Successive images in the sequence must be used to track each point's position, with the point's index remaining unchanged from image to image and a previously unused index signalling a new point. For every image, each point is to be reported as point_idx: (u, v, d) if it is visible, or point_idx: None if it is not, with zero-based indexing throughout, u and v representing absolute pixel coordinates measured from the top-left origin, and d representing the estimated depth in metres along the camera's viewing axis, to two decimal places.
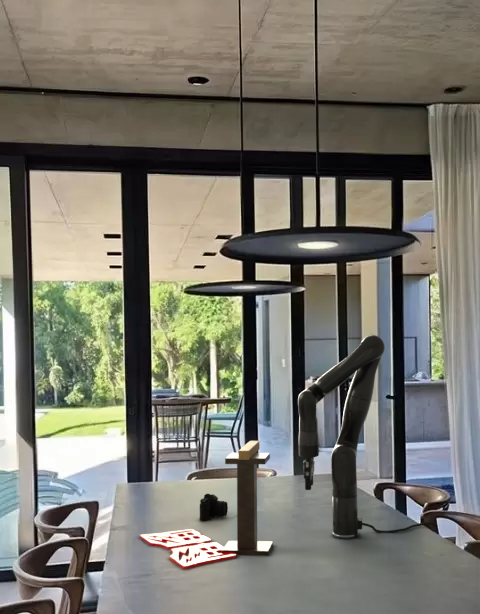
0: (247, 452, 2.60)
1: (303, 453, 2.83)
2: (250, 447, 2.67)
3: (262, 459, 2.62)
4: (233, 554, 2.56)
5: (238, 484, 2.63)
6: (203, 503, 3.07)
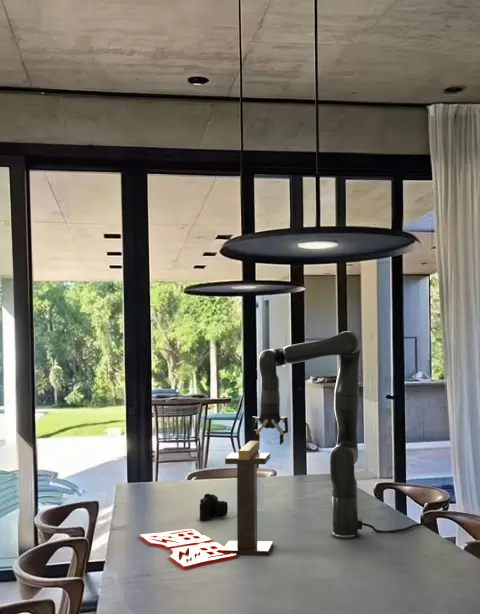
0: (247, 452, 2.60)
1: None
2: (250, 447, 2.67)
3: (262, 459, 2.62)
4: (233, 554, 2.56)
5: (238, 484, 2.63)
6: (203, 503, 3.07)
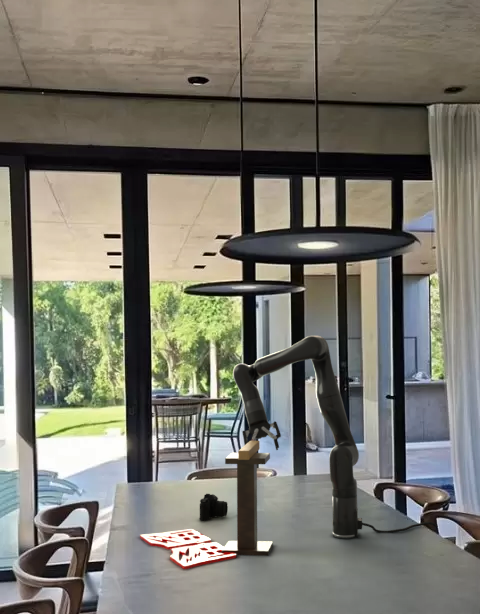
0: (247, 452, 2.60)
1: None
2: (250, 447, 2.67)
3: (262, 459, 2.62)
4: (233, 554, 2.56)
5: (238, 484, 2.63)
6: (203, 503, 3.07)
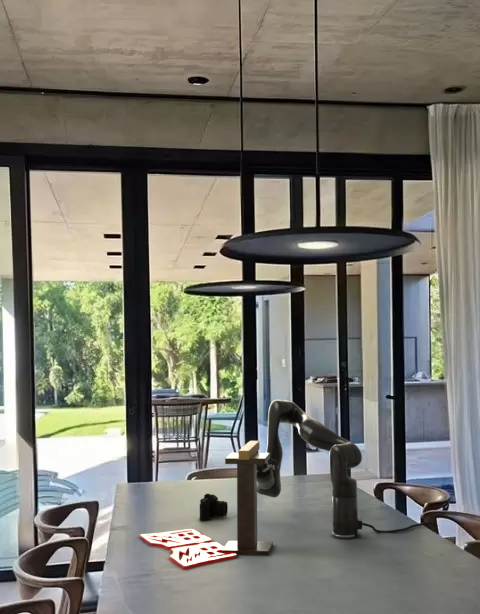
0: (247, 452, 2.60)
1: None
2: (250, 447, 2.67)
3: (262, 459, 2.62)
4: (233, 554, 2.56)
5: (238, 484, 2.63)
6: (203, 503, 3.07)
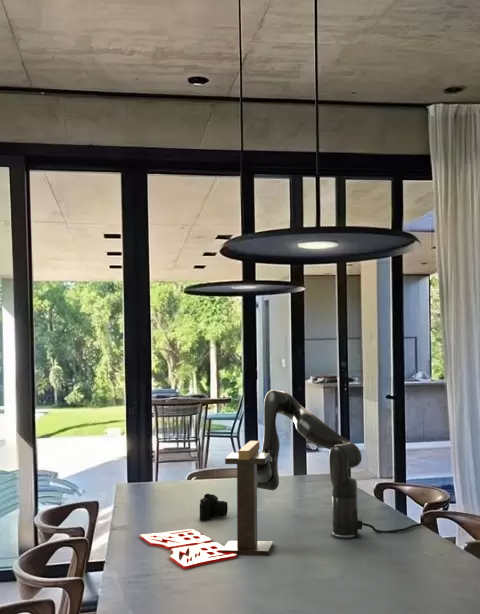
0: (247, 452, 2.60)
1: None
2: (250, 447, 2.67)
3: (262, 459, 2.62)
4: (233, 554, 2.56)
5: (238, 484, 2.63)
6: (203, 503, 3.07)
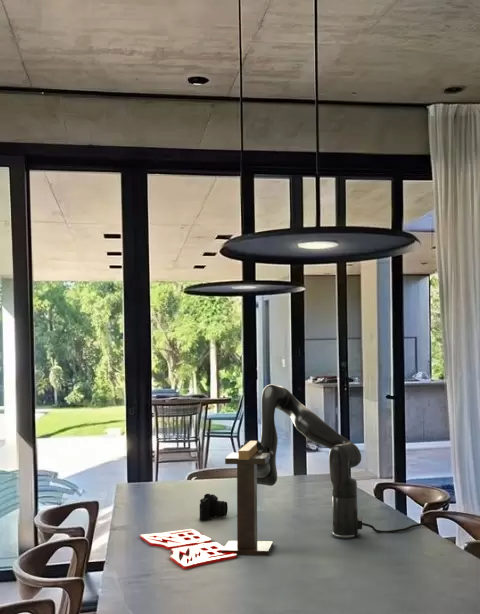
0: (247, 452, 2.60)
1: None
2: (250, 447, 2.67)
3: (262, 459, 2.62)
4: (234, 554, 2.56)
5: (238, 484, 2.63)
6: (203, 503, 3.07)
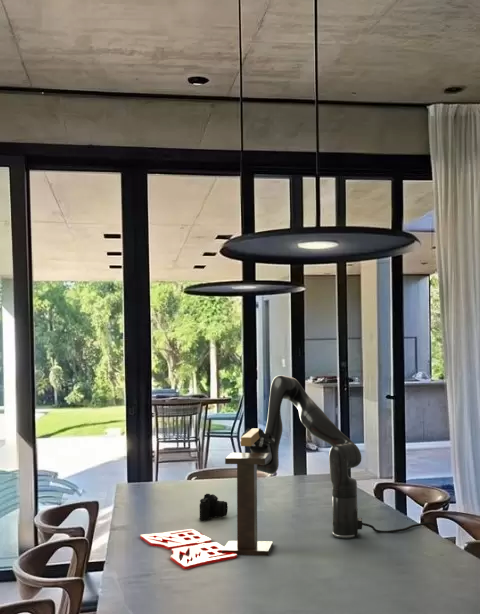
0: (249, 439, 2.65)
1: (250, 449, 2.93)
2: (252, 434, 2.73)
3: (262, 459, 2.62)
4: (234, 554, 2.56)
5: (238, 484, 2.63)
6: (203, 503, 3.07)
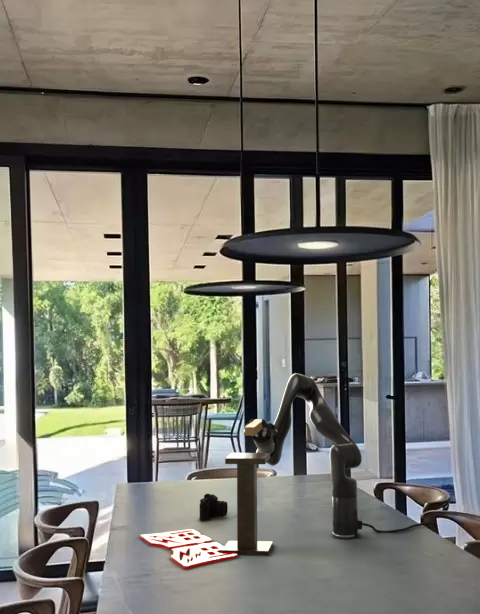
0: (253, 428, 2.73)
1: None
2: (256, 424, 2.81)
3: (262, 459, 2.62)
4: (234, 554, 2.56)
5: (238, 484, 2.63)
6: (203, 503, 3.07)
